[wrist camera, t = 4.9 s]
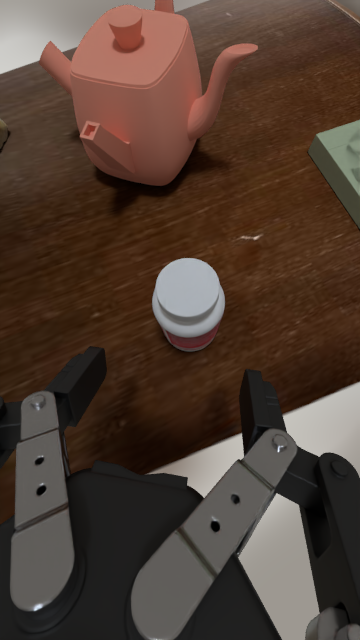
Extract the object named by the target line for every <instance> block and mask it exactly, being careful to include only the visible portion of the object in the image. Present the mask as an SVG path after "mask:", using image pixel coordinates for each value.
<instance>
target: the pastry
mask: <svg viewBox="0 0 360 640" xmlns="http://www.w3.org/2000/svg"><path fill="white" fill-rule="evenodd" d="M7 137H8V131H7V125H6V124H5V123H4V122H3V121H2V120H1V119H0V149H1V147H2V146H3V142H4V141H6V140H7Z"/></svg>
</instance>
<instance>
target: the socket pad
mask: <svg viewBox="0 0 360 640" xmlns="http://www.w3.org/2000/svg"><path fill="white" fill-rule="evenodd" d="M308 153H309V155H310V156H311V158H312V159H313V161H314V162H315V164H316V165H317V167H318V168H319V170H320V171H321V173H322V174H323V176H324V177H325V179H326V180H327V181H328V183H329V184H330V186H331V187H332V189H333V190H334V192H335V193H336V195H337V196H338V198H339V199H340V201H341V202H342V204H343V205H344V207H345V208H346V210H347V211H348V213H349V214H350V216H351V217H352V219H353V220H354V222H355V223H356V225H358V227H359V229H360V120H359V121H355V122H352V123H349V124H346V125H343V126H340V127H337V128H334V129H331V130H328V131H325V132H322V133H319V134H316V136H315V138H314V140H313V142H312V144H311V146H310V148H309V150H308Z"/></svg>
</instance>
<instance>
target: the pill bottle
mask: <svg viewBox="0 0 360 640" xmlns="http://www.w3.org/2000/svg"><path fill="white" fill-rule="evenodd" d="M152 306H153V311H154V314H155V317H156V319H157V321H158V323H159V325H160V326H161V328H162V330H163V332H164V334H165V336H166V338H167V339H168V341H169V342H170V343H171V344H172V345H173V346H175V347H176V348H178V349H180V350H184V351H197V350H200V349H203V348H204V347H206V346H207V345H209V344H210V343H211V341H212V340H213V339H214V337H215V335H216V333H217V330H218V327H219V324H220V321H221V318H222V315H223V312H224V307H225V297H224V293H223V290H222V287H221V286H220V284H219V279H218V276H217V274H216V272H215V271H214V270H213V269H212V267H211V266H209V265H208V264H207V263H205V262H203V261H201V260H198V259H194V258H183V259H179V260H176V261H173V262H171V263H170V264H168V265H167V266H166V267H165V268H164V269H163V270H162V271H161V272H160V274H159V276H158V278H157V281H156V288H155V291H154V294H153V299H152Z"/></svg>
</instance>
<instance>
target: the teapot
mask: <svg viewBox="0 0 360 640" xmlns="http://www.w3.org/2000/svg"><path fill="white" fill-rule="evenodd" d="M257 49H258V46H257V45H255V44H237V45H233V46H230V47H228V48H227V49H225V50H224V51H223V52H222V53H221V54H220V56H219V57H218V58H217V60H216V62H215V64H214V67H213V70H212V74H211V78H210V82H209V86H208V89H207V92H206V93H205V94H204V95H203V96H202V87H201V78H200V71H199V66H198V61H197V56H196V51H195V47H194V43H193V39H192V34H191V31H190V27H189V24H188V21H187V20H186V19H185V18H184V16H181V15H177V14H174V6H173V0H155V10H146V9H139V8H138V7H136V6H132V5H122V6H119V7H115V8H112V9H110V10H109V11H107V12H106V13H104V14H103V15H102V16H101V17H100V18H99V19H98V20H97V21H96V22H95V23H94V25H93V26H92V27H91V28H90V29H89V31H88V32H87V33H86V34H85V36H84V37H83V39H82V40H81V42H80V44H79V46H78V48H77V50H76V52H75V54H74V56H73V59H72V62H70V61H69V60H68V58H67V57H66V56H65V55H64V54H63V53H62V52H61V51H60V50H59V49H58V48H57V47H56V46H55V45H54V44H53V43H52V42H51V41H50V42H49V43H48V44H47V45H46V47H45V48H44V50H43V52H42V55H41V58H40V61H39V64H40V65H41V66H42V67H43V68H44V69H45V70H46V71H47V72H48V73H49V74H50V75H51V76H52V77H53V78H54V79H55V80H56V81H57V82H58V83H59V84H60V85H61V86H62V87H63V88H64V89H65V90H66V91H67V92H68V93H69V94H70V95H71V96H72V97H73V103H74V109H75V115H76V120H77V125H78V129H79V132H80V139H81V140H82V142H83V145H84V148H85V150H86V152H87V155H88V157H89V159H90V160H91V161H92V163H93V164H94V165H95V166H97V167H98V168H99V169H100V170H101V171H103V172H104V173H106V174H109V175H111V176H114V177H118V178H121V179H125V180H128V181H133V182H137V183H142V184H148V185H155V186H163V185H166V184H168V183H170V182H171V181H172V180H173V179H174V178H175V177H176V176H177V175H178V173H179V172H180V170H181V169H182V167H183V166H184V164H185V163H186V161H187V159H188V157H189V156H190V154H191V152H192V149H193V147H194V145H195V142H196V140H197V138H200V137H202V136H203V135H204V134H205V133H206V132H207V131H208V130H209V129H210V128H211V126H212V125H213V123H214V121H215V119H216V117H217V114H218V112H219V108H220V105H221V101H222V97H223V94H224V90H225V86H226V84H227V81H228V78H229V76H230V74H231V72H232V70H233V69H234V68H235V67H236V66H237V64H238V63H239V62H240V61H242V60H243V59H245V58H246V57H247V56H249V55H251V54H252V53H254V52H255V51H256V50H257Z"/></svg>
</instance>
